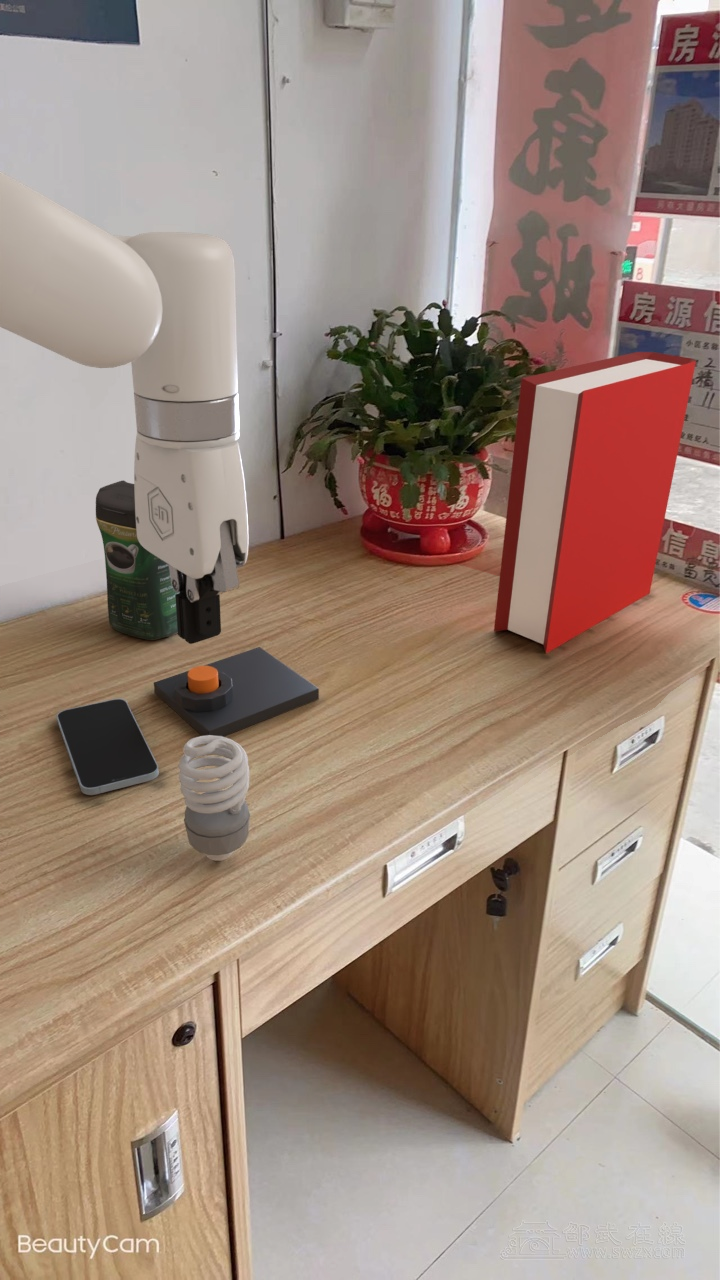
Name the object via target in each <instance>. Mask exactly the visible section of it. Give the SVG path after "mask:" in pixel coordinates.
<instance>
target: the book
mask: <svg viewBox="0 0 720 1280" xmlns="http://www.w3.org/2000/svg"><path fill="white" fill-rule="evenodd" d="M696 363H697V361H696V360H695V359H693V358H691V357H685V356H679V355H674V354H667V353H661V352H655V351H635V352H632V353H627V354H621V355H617V356H613V357H609V358H604V359H600V360H595V361H591V362H586V363H582V364H577V365H574V366H573V365H572V366H569V367H564V368H560V369H556V370H551V371H548V372H543V373H538V374H534V375H529V376H524V377H521V380H520V390H519V399H518V407H517V418H516V424H515V425H516V426H515V435H514V443H513V453H512V454H513V455H512V461H511V462H512V463H511V472H510V480H509V489H508V497H507V498H508V499H507V509H506V518H505V524H504V525H505V526H504V535H503V544H502V546H503V547H502V553H501V562H500V572H499V580H498V589H497V599H496V609H495V616H494V617H495V618H494V628H493V632H501V631H507V630H508V631H510V632H512V633H515V634H517V635H520V636H522V637H524V638H527V639H529V640H532V641H534V642H536V643H538V644H541V645H543V648H544V651H545V654H548V653H550V652H551V651H553V650H555V649H557V648H558V647H560V646H561V645H563V644H565V643H566V642H568V641H570V640H572V639H574V638H575V637H577V636H579V635H581V634H582V633H584V632H586V631H587V630H589V629H591V628H592V627H595V626H596V625H598V624H599V623H601V622H603V621H605V620H606V619H608V618H610V617H612V616H613V615H615V614H617V613H619V612H620V611H622V610H623V609H625V608H627V607H628V606H630V605H632V604H634V603H635V602H638V601H639V600H641V599H643V598H644V597H646V596H648V595H649V594H650V593H651V588H652V583H653V578H654V574H655V568H656V564H657V558H658V554H659V548H660V544H661V539H662V533H663V527H664V524H665V520H666V519H665V518H666V513H667V508H668V505H669V499H670V495H671V489H672V484H673V478H674V474H675V468H676V463H677V458H678V454H679V448H680V443H681V438H682V433H683V429H684V423H685V418H686V414H687V409H688V408H687V407H688V405H689V404H688V403H689V399H690V393H691V389H692V384H693V380H694V379H693V378H694V373H695V369H696Z"/></svg>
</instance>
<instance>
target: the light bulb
mask: <svg viewBox="0 0 720 1280" xmlns="http://www.w3.org/2000/svg"><path fill="white" fill-rule="evenodd" d="M182 750H183V753H184V754H183V755H181V757H180V758H179V760H178V769H179V772H178V780H179V782H180V789H179V790H180V793H181V795H182V796H183V797H184V798H183V800H184V805H186V807H185V810H184V818H183V822H184V826H185V827H184V828H185V831H186V836H187V839H188V842H189V845H190V846H191V847H192V848H193V849H194V850H196V851H197V852H198V853H200V854H204V856H206V858H208V859H209V860H211V861H216V862H217V861H218V862H223V861H225V860H227V859H228V858H230V857H231V856H232V855H233V854H234V852H235V851H236V850H238V849H240V848H241V847H242V846H243V845H244V844H246V842H247V839H248V837H249V829H250V818H251V814H250V810H249V806H248V805H249V804H248V803H247V801H246V798H247V793H248V791H249V788H250V767H249V757H248V754H247V752H246V750H245V748H243V747H242V745H241V744H239V743H238V742H237V741H234V740H233V739H231V738H229V737H225V736H224V737H222V736H213V735H207V736H202V735H200V736H196V737H193V738H190V739H189V740H188V741H186V743H185V744H184V746H183V749H182ZM205 767H213V768H205ZM200 768H203V769H200ZM214 779H215V780H214ZM216 779H218V780H216ZM208 780H210V781H208ZM211 780H214V781H211ZM205 781H206V782H205Z"/></svg>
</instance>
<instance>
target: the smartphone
mask: <svg viewBox="0 0 720 1280" xmlns="http://www.w3.org/2000/svg"><path fill="white" fill-rule="evenodd" d="M56 722H57V725H58V728H59V732H60V734H61V736H62V739H63V742H64V745H65V748H66V752H67V755H68V757H69V759H70V762H71V766H72V769H73V772H74V774H75V777H76V779H77V783H78V785H79V788H80V791H81V793H82V794H84V795H86V796H94V795H100V794H103V793H107V792H111V791H115V790H118V789H122V788H126V787H130V786H135V785H138V784H139V785H140V784H141V783H142V784H143V783H146V782H151V781H153V780H155V779H156V778H158V777H159V775H160V774H159V773H160V772H159V765H158V762H157V761H156V759H155V756H154V754H153V752H152V750H151V748H150V746H149V744H148V742H147V739H146V738H145V735H144V734H143V731H142V730H141V728H140V726H139V723H138V722H137V720H136V717H135V715H134V714H133V711H132V710H131V707H130V706H129V703H128V702H127V700H126V699H123V698H113V699H108V700H103V701H100V702H93V703H90V704H85V705H79V706H76V707H72V708H71V707H70V708H66V709H63V710H61V711H59V712H58V713H57V714H56Z"/></svg>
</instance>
